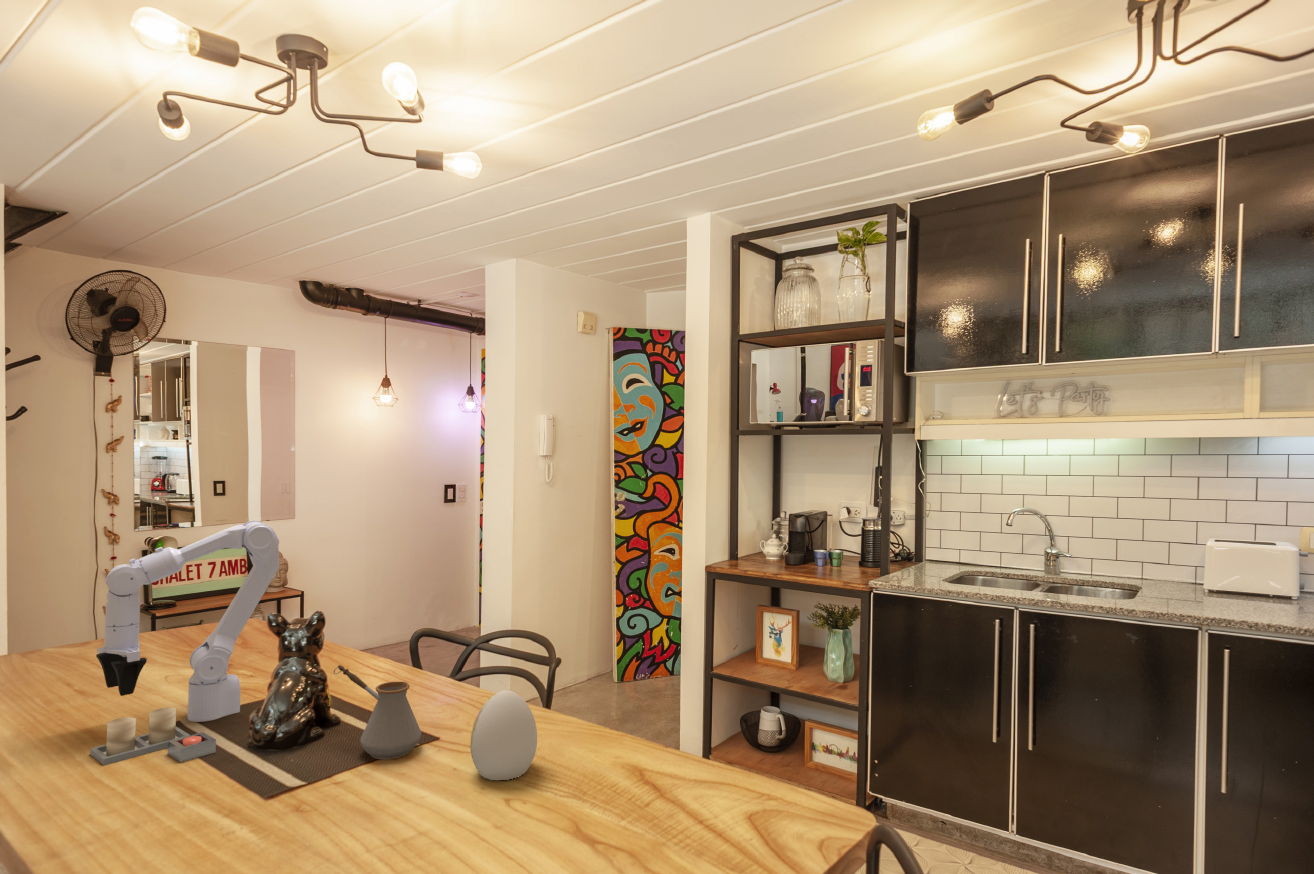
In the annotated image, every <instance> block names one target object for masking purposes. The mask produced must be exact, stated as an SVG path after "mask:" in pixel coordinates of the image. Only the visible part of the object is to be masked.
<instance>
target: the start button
mask: <svg viewBox="0 0 1314 874" xmlns="http://www.w3.org/2000/svg"><path fill="white" fill-rule="evenodd" d="M201 738H202V737H201V736H191V737H187V738H185V739H183V746H188V745H191V744H195V743H199V742H201Z"/></svg>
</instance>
